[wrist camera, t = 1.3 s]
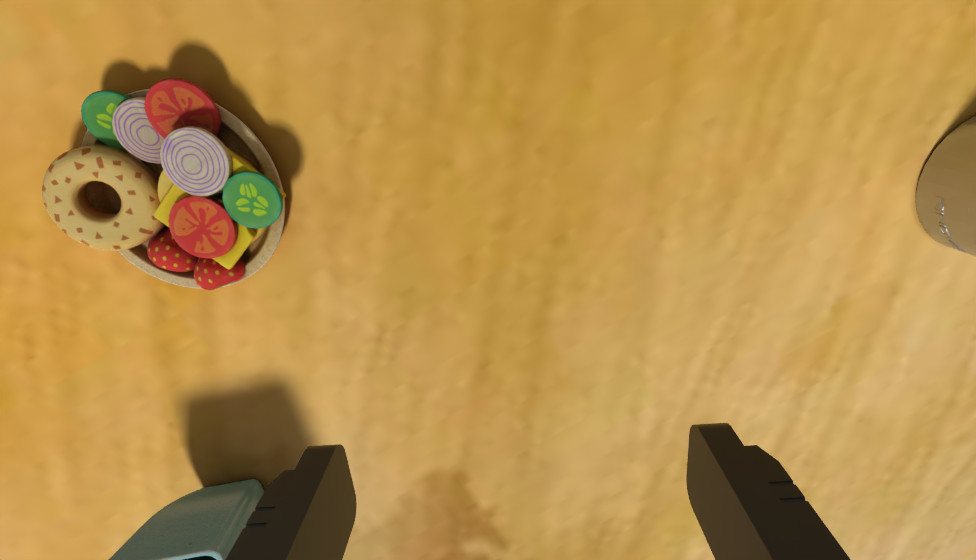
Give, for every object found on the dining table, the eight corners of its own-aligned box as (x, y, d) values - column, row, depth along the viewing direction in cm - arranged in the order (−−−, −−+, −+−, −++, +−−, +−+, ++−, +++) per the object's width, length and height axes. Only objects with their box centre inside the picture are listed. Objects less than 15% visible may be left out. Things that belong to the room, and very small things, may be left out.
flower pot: (310, 534, 44) (267, 639, 36) (216, 549, 45) (153, 656, 37) (272, 455, 41) (216, 550, 33) (173, 473, 42) (93, 570, 34)
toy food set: (54, 196, 34) (11, 207, 31) (146, 30, 30) (107, 24, 27) (229, 316, 37) (205, 337, 34) (332, 178, 33) (316, 188, 30)
